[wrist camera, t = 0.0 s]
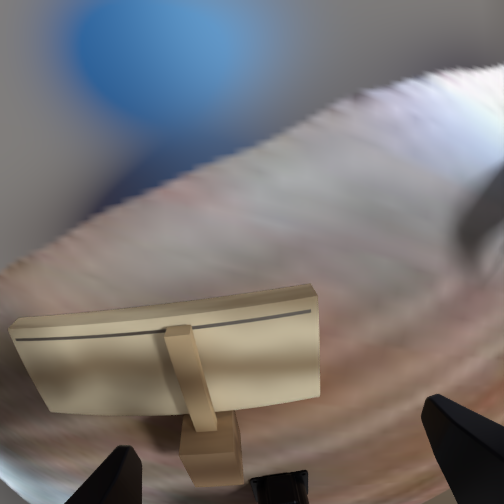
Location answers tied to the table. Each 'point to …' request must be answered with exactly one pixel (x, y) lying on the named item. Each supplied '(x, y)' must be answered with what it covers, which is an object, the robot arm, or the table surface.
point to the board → (158, 359)
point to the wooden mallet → (203, 419)
